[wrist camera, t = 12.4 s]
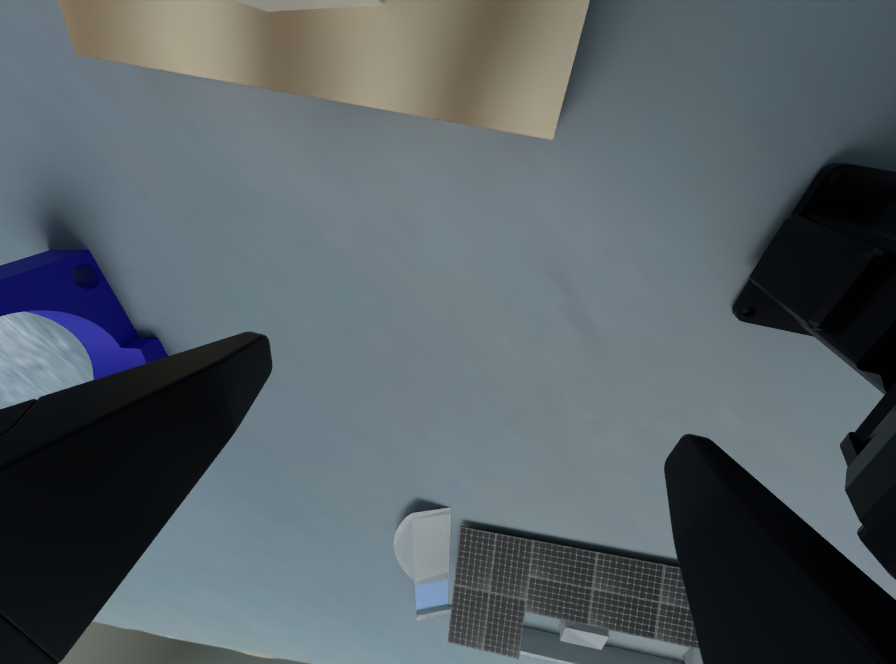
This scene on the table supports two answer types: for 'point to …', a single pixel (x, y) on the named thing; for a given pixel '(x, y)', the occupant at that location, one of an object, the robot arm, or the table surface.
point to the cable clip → (77, 307)
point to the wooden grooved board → (358, 52)
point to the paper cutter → (542, 594)
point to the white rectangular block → (306, 4)
